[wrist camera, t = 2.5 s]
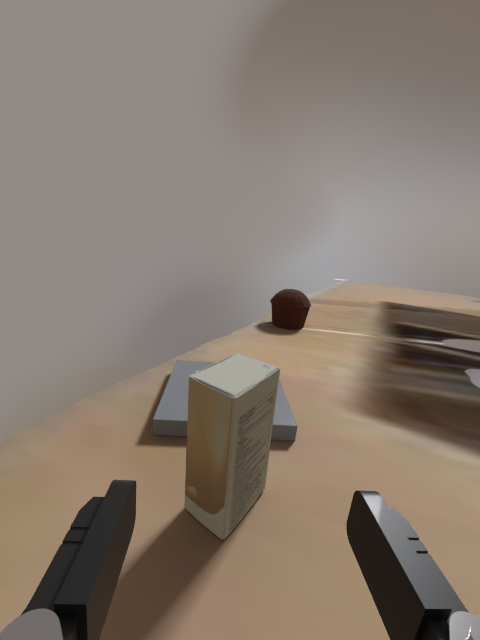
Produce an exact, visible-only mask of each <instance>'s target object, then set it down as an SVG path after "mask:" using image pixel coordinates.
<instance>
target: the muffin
mask: <svg viewBox="0 0 480 640" xmlns="http://www.w3.org/2000/svg"><path fill="white" fill-rule="evenodd" d="M270 301H271V303H272V323H273V325H275V326H277V327H279V328H285V329H300V328H303V327H304V323H305V320H306V317H307V314H308V311H309V308H310V306H311V304H310V302H309V300H308V298H307V297H306V296H305V295H304V294H303V293H302V292H300V291H298V290H294V289H285V290H282V291H280V292H278V293H277V294H276V295H275V296H274V297H273V298H272V299H271V300H270Z"/></svg>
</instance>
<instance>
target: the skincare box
mask: <svg viewBox="0 0 480 640" xmlns="http://www.w3.org/2000/svg"><path fill="white" fill-rule="evenodd" d="M279 373H280V368H279V367H277V366H274V365H271V364H268V363H265V362H262V361H260V360H257V359H254V358H251V357H249V356H245V355H242V354H240V353H237V354H234V355H232V356H230V357H228V358H225V359H223V360H221V361H219V362H216V363H214V364H212V365H210V366H208V367H206V368H204V369H202V370H200V371H198V372H196V373H194V374H192V375H190V376H189V389H188V421H187V451H186V481H185V509H186V510H187V511H188V512H189V513H190V514H192V515H193V516H194V517H195V518H196V519H197V520H198V521H199V522H201V523H202V524H203V525H204V526H205V527H206V528H208V529H209V530H210V531H211V532H213V533H214V534H215V535H216V536H217V537H219V538H220V539H221V540H224V539H226V538H227V536H228V535H229V534H230V533H231V532H232V531H233V529H234V528H235V527H236V526H237V524H238V523H239V522H240V521H241V519H242V518H243V517H244V516H245V514H246V513H247V512H248V511H249V509H250V508H251V507H252V505H253V504H254V503H255V501H256V500H257V499H258V497H259V496H260V494H261V493H262V492H263V490H264V489H265V483H266V475H267V467H268V459H269V451H270V443H271V435H272V427H273V420H274V412H275V404H276V397H277V389H278V381H279Z"/></svg>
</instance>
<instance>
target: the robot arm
mask: <svg viewBox="0 0 480 640" xmlns="http://www.w3.org/2000/svg"><path fill="white" fill-rule="evenodd" d="M135 517H136V481H129V480H113V481H112V483H111V485H110V487H109V489H108V491H107V493H106V495H105V497H93V498H92V499H91V500H90V501H89V502H88V503H87V504H86V505H85V506H84V507H82V508H81V509H80V510H79V512H78V514H77V516H76V518H75V520H74V521H73V523H72V525H71V527H70V530H69V531H68V532H67V534H66V536H65V538H64V540H63V543H62V545H60V547H59V549H58V551H57V553H56V555H55V556H54V558H53V560H52V562H51V564H50V566H49V567H48V569H47V571H46V573H45V575H44V577H43V578H42V580H41V582H40V584H39V586H38V588H37V589H36V591H35V593H34V595H33V597H32V599H31V600H30V602H29V604H28V605H27V607H26V609H25V610H24V611H23V613H22V614H21V615H20V616H19V617H18V618H16V619H15V620H13V621H12V622H11V623H10V624H9V625H7V626H6V627H5V628H4V629H3V630H2V631H1V633H0V640H99V638H100V635H101V632H102V628H103V625H104V622H105V619H106V616H107V613H108V610H109V606H110V603H111V600H112V597H113V594H114V591H115V587H116V584H117V581H118V578H119V575H120V572H121V568H122V565H123V562H124V559H125V556H126V553H127V550H128V546H129V543H130V540H131V537H132V533H133V529H134V524H135ZM347 535H348V539H349V543H350V545H351V547H352V550H353V552H354V555H355V557H356V559H357V562H358V564H359V566H360V569H361V571H362V574H363V576H364V578H365V581H366V583H367V585H368V588H369V590H370V592H371V595H372V597H373V600H374V602H375V604H376V607H377V609H378V611H379V614H380V616H381V618H382V621H383V623H384V626H385V628H386V630H387V633H388V635H389V637H390V640H480V618H479V617H477V616H475V615H473V614H471V613H469V612H468V611H467V609H466V608H465V606H464V605H463V603H462V602H461V600H460V599H459V597H458V596H457V594H456V593H455V591H454V590H453V588H452V587H451V585H450V584H449V582H448V581H447V579H446V578H445V576H444V575H443V573H442V572H441V570H440V569H439V567H438V566H437V564H436V563H435V561H434V560H433V558H432V557H431V555H429V554H428V551H427V549H426V548H425V546H424V545H423V543H422V542H421V541H419V537H418V536H417V534H416V533H415V531H414V530H413V528H412V527H411V525H410V524H409V522H408V521H407V520H406V519H405V518H403V517H402V516H401V515H400V514H399V513H398V512H397V511H396V510H395V509H393V508H388V506H387V504H386V503H385V501H384V500H383V498H382V496H381V495H380V494H379V493H378V492H376V491H355V493H354V495H353V499H352V503H351V507H350V512H349V516H348V520H347Z"/></svg>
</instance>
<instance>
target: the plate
mask: <svg viewBox="0 0 480 640" xmlns="http://www.w3.org/2000/svg"><path fill="white" fill-rule="evenodd" d="M212 364H214V363H213V362H196V361H180V360H177V361H176V363H175V366H174V368H173V371H172V373H171V376H170V378H169V381H168V383H167V386H166V388H165V391H164V393H163V396H162V398H161V401H160V403H159V406H158V408H157V411H156V413H155V416H154V418H153V435H163V436H187V421H188V389H189V376H190V375H192V374H194V373H196V372H198V371H200V370H202V369H204V368H206V367H208V366H210V365H212ZM296 431H297V424H296V421H295V419H294V416H293V414H292V411H291V409H290V406H289V404H288V401H287V398H286V396H285V393H284V391H283V388H282V386H281V383H280V381H278V389H277V397H276V404H275V412H274V420H273V427H272V435H271V440H285V441H295V437H296Z"/></svg>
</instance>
